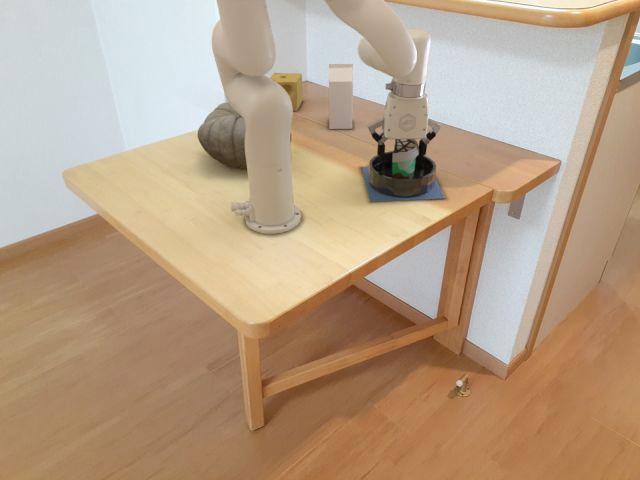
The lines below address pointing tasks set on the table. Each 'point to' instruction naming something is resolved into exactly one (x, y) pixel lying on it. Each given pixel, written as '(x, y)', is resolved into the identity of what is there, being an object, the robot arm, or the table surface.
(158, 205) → the table surface
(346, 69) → the milk carton
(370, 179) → the pan
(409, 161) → the food container
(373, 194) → the napkin
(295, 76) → the cheese
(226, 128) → the gourd
